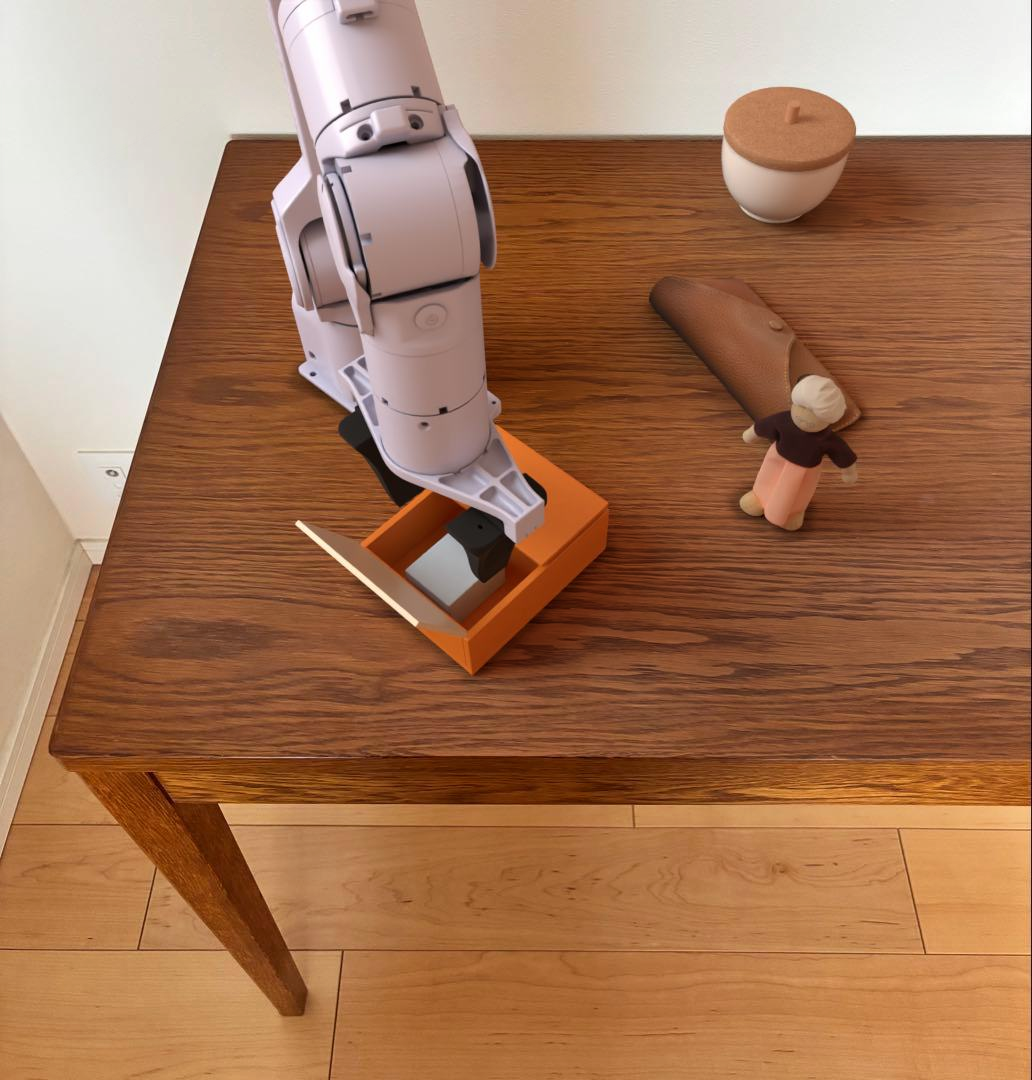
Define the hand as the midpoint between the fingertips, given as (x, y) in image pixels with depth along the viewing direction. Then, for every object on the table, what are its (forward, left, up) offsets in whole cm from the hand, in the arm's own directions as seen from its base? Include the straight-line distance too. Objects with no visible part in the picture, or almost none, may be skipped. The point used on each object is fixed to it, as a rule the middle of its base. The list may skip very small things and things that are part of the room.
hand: (449, 532), depth 59 cm
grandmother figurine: (+12, +20, -7) cm, 24 cm away
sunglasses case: (+2, +30, -7) cm, 31 cm away
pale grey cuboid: (0, 0, -6) cm, 7 cm away
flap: (0, -5, +1) cm, 5 cm away
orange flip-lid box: (0, +3, -7) cm, 8 cm away
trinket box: (-8, +48, -7) cm, 49 cm away
